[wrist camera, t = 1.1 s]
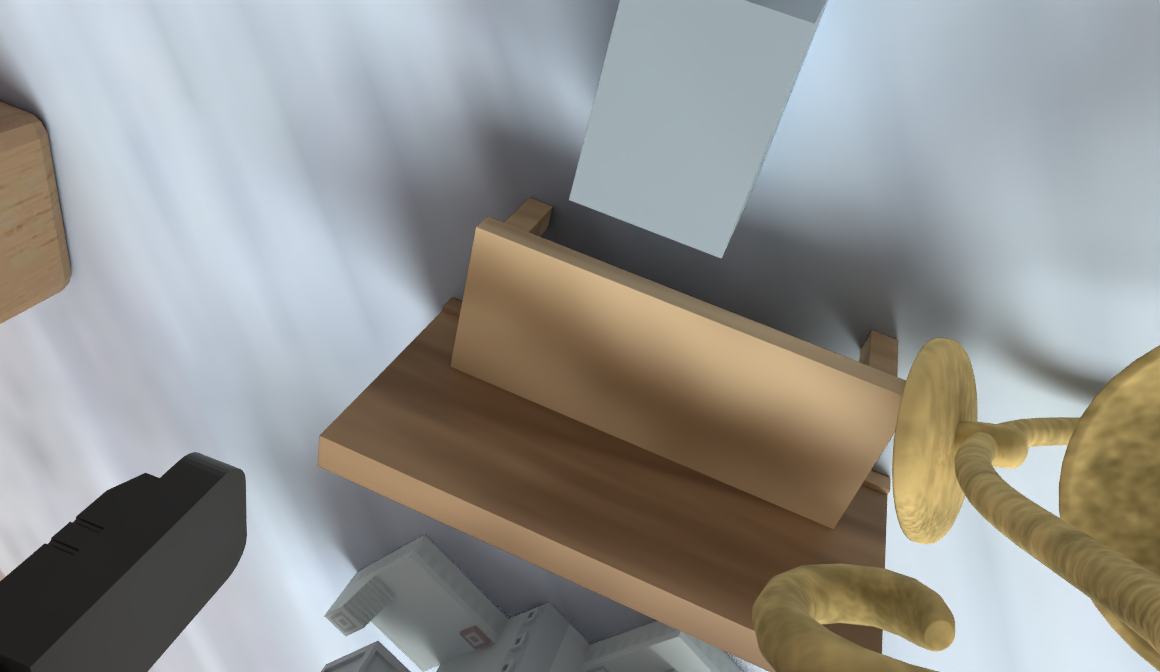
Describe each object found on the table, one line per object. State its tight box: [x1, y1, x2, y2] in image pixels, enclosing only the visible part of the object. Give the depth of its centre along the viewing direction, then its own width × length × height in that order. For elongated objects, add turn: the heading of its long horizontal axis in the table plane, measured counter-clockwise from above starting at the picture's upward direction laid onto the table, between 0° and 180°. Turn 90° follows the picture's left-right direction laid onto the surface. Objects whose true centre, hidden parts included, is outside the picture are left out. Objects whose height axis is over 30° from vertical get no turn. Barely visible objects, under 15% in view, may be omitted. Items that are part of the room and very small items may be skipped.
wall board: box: [318, 198, 906, 672], centre depth 30 cm, size 11×20×10 cm, turn 75°
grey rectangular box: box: [569, 0, 828, 259], centre depth 25 cm, size 8×5×6 cm, turn 165°
